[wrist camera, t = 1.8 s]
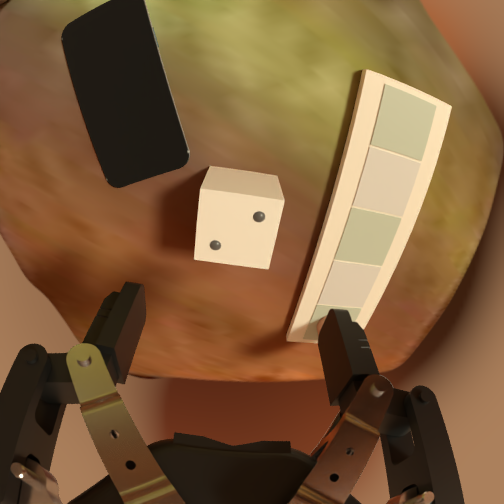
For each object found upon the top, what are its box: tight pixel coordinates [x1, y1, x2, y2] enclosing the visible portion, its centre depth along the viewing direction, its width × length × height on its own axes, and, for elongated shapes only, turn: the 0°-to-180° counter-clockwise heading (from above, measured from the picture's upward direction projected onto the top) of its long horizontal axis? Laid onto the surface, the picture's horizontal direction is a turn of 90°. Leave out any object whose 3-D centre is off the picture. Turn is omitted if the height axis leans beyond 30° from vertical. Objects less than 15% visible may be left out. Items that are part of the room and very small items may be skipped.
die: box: [194, 166, 285, 269], centre depth 21 cm, size 5×5×5 cm
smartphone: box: [62, 0, 190, 188], centre depth 18 cm, size 7×1×15 cm
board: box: [286, 69, 452, 343], centre depth 24 cm, size 8×26×1 cm, turn 171°
